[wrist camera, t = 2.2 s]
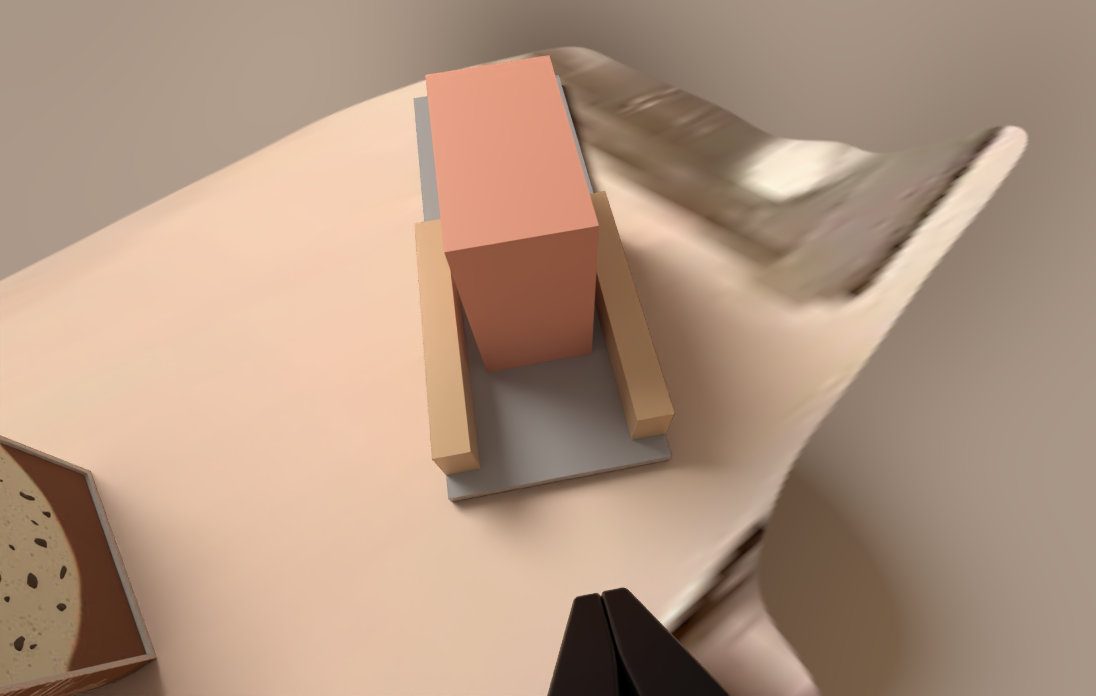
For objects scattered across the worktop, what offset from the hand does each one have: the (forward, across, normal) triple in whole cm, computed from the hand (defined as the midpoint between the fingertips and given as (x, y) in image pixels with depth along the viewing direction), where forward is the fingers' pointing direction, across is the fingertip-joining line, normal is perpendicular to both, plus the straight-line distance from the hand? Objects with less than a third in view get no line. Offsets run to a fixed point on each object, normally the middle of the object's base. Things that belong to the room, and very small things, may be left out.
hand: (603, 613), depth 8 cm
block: (+20, 0, -2) cm, 20 cm away
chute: (+22, 0, -4) cm, 23 cm away
